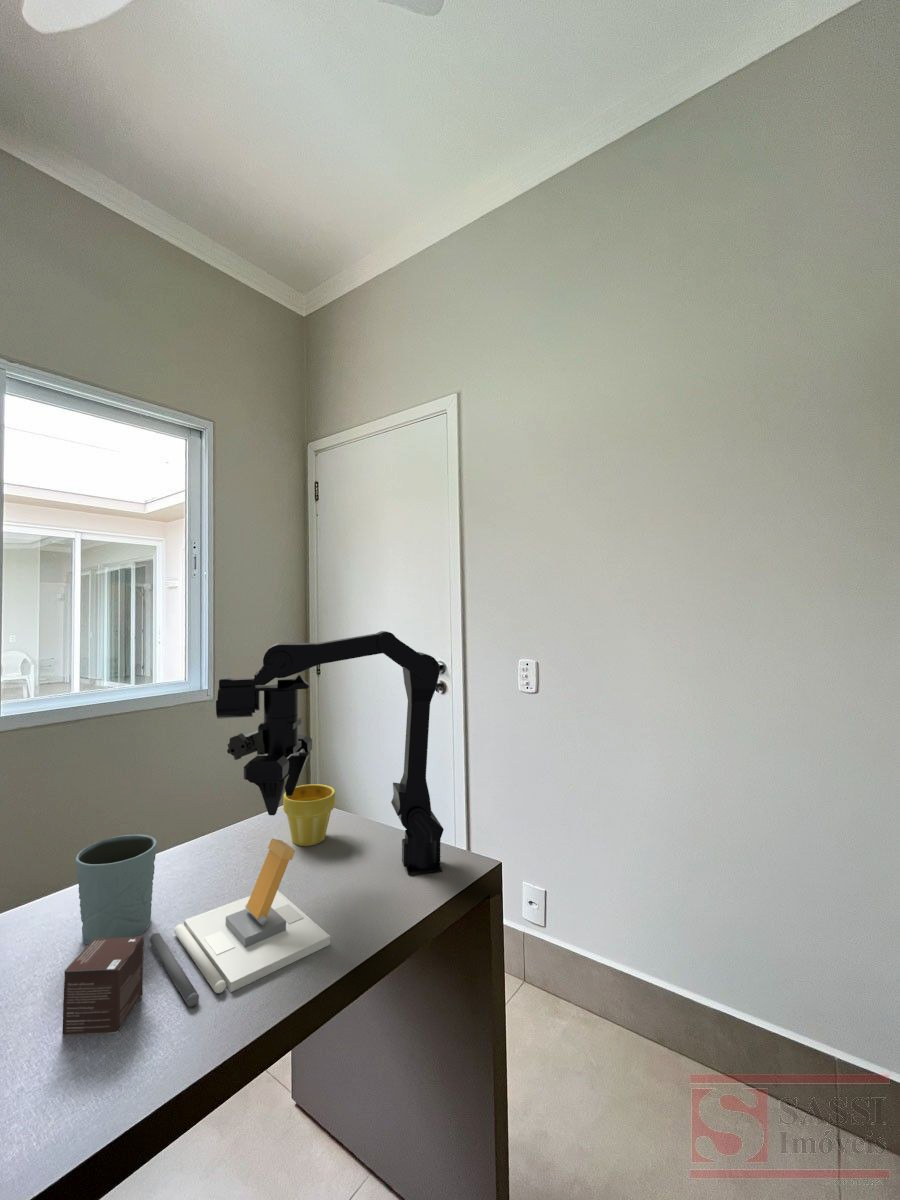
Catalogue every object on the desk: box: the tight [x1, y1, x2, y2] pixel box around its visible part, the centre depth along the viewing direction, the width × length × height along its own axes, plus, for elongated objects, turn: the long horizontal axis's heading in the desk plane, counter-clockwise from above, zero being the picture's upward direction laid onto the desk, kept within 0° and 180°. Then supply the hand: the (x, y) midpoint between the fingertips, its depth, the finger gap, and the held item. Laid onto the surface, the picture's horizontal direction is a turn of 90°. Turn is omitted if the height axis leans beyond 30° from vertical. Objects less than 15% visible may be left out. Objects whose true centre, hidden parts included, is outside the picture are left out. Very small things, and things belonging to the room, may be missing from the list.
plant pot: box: [282, 783, 336, 847], centre depth 110 cm, size 10×10×10 cm
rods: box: [149, 923, 227, 1007], centre depth 70 cm, size 17×5×1 cm, turn 43°
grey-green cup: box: [75, 833, 158, 946], centre depth 79 cm, size 10×10×12 cm
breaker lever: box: [245, 838, 296, 925], centre depth 79 cm, size 2×5×10 cm, turn 44°
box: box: [61, 936, 145, 1037], centre depth 62 cm, size 6×6×7 cm
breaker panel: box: [183, 889, 331, 993], centre depth 77 cm, size 14×18×2 cm
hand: (281, 804), depth 92 cm, fingers open, 9 cm apart
